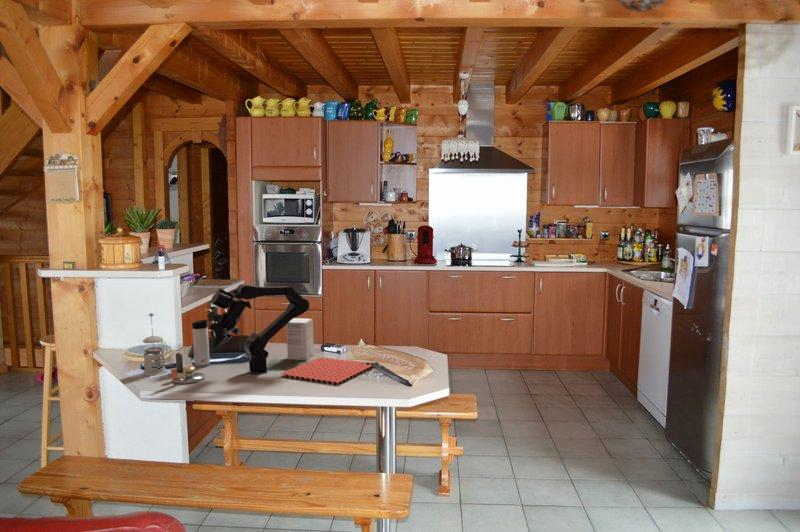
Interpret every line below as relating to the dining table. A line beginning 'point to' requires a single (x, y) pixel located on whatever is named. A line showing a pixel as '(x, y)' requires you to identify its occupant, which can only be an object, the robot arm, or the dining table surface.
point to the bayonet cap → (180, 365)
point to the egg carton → (327, 370)
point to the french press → (156, 356)
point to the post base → (189, 380)
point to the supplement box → (300, 339)
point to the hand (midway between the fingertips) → (214, 347)
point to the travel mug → (201, 343)
